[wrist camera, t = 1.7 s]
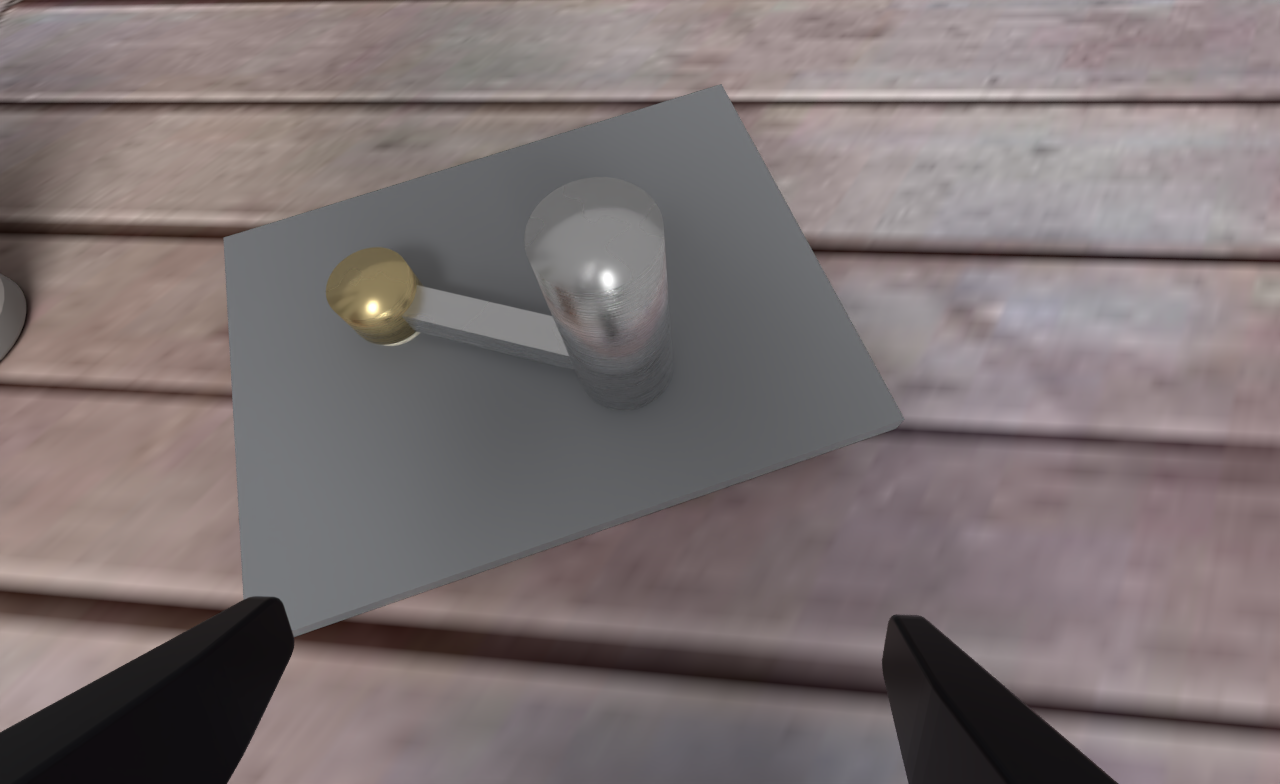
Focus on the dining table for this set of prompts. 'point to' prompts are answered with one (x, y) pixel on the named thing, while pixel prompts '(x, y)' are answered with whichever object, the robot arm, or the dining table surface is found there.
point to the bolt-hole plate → (523, 370)
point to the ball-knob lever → (545, 295)
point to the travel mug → (10, 314)
